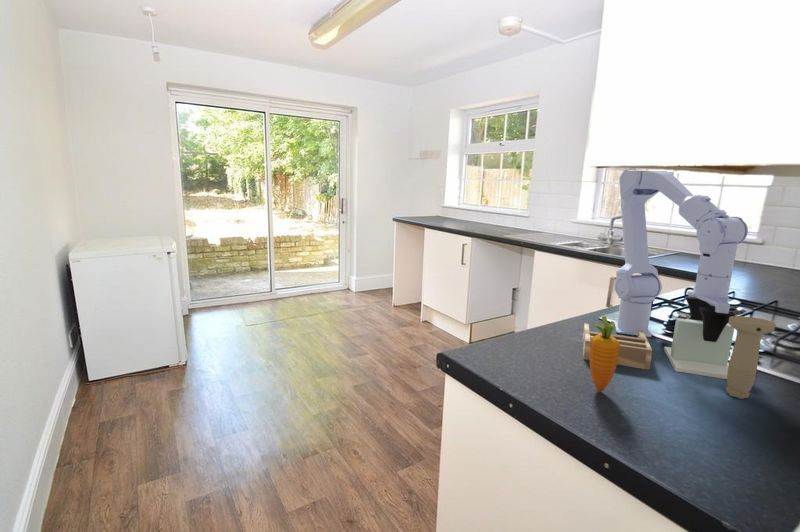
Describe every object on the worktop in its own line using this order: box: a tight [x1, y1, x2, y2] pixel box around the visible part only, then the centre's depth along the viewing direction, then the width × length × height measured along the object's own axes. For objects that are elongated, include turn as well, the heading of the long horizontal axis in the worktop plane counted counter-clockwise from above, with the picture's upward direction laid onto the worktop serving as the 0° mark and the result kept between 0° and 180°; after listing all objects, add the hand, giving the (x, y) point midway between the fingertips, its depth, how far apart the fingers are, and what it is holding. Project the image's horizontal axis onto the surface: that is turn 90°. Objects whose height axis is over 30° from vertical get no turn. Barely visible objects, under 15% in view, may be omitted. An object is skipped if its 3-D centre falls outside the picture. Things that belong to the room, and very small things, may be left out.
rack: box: [582, 322, 653, 371], centre depth 92 cm, size 12×13×6 cm
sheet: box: [670, 317, 735, 366], centre depth 87 cm, size 2×10×9 cm, turn 70°
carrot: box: [588, 315, 620, 393], centre depth 74 cm, size 5×5×15 cm
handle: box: [725, 315, 777, 400], centre depth 73 cm, size 5×6×15 cm
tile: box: [663, 345, 729, 380], centre depth 88 cm, size 12×11×1 cm
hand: (703, 334), depth 86 cm, fingers open, 7 cm apart
